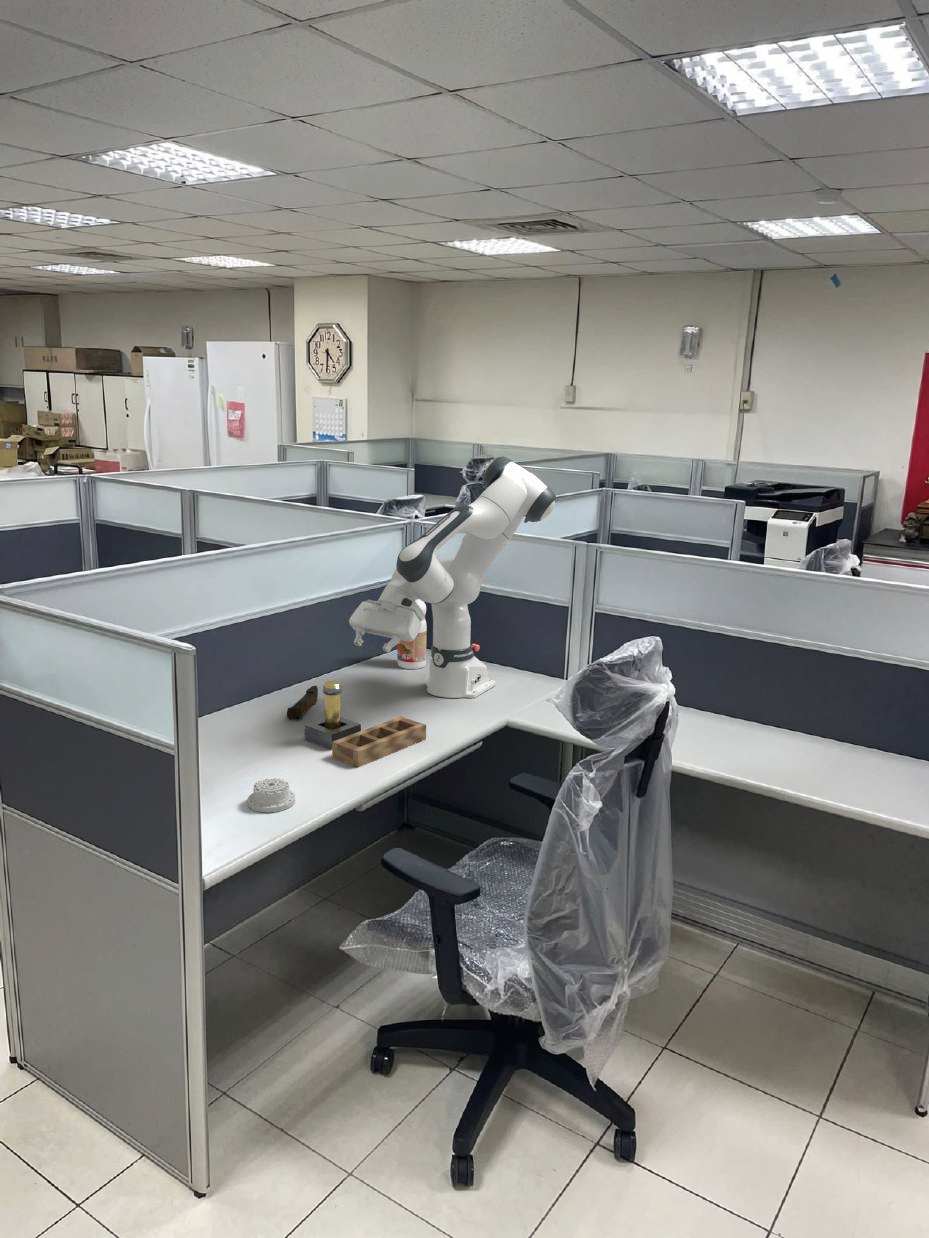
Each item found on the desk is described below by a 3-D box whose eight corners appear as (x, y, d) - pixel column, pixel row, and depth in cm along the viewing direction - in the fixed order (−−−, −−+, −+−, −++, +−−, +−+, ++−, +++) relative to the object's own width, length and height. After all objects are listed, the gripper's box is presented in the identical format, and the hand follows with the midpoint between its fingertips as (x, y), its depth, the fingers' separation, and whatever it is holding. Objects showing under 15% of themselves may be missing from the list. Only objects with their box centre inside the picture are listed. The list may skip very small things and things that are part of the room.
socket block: (334, 729, 233) (334, 714, 232) (360, 738, 227) (360, 724, 226) (305, 739, 226) (304, 724, 225) (331, 749, 220) (331, 734, 219)
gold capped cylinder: (333, 734, 230) (332, 679, 226) (345, 739, 227) (345, 683, 223) (320, 739, 226) (319, 683, 223) (332, 744, 223) (331, 687, 220)
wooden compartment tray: (400, 730, 233) (400, 716, 232) (426, 739, 228) (426, 724, 227) (332, 757, 215) (332, 741, 214) (358, 767, 210) (358, 751, 209)
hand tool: (300, 722, 239) (300, 705, 238) (286, 720, 240) (286, 704, 238) (326, 700, 257) (326, 684, 256) (313, 698, 258) (313, 683, 256)
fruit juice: (427, 669, 287) (429, 584, 280) (398, 670, 285) (399, 584, 278) (424, 660, 296) (425, 578, 289) (396, 661, 294) (396, 578, 287)
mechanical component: (303, 797, 194) (262, 790, 197) (302, 778, 193) (261, 772, 196) (281, 816, 185) (239, 809, 188) (281, 797, 184) (238, 790, 187)
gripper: (359, 592, 239) (334, 634, 233) (420, 603, 228) (396, 648, 223) (369, 605, 244) (345, 647, 238) (430, 617, 233) (407, 661, 227)
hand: (370, 647), depth 230 cm, fingers open, 8 cm apart
